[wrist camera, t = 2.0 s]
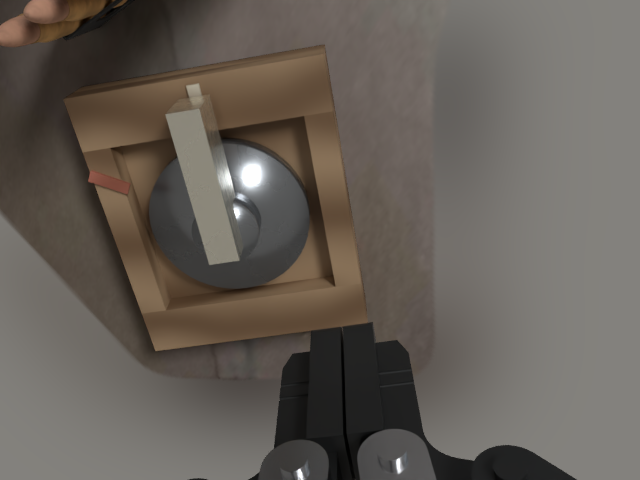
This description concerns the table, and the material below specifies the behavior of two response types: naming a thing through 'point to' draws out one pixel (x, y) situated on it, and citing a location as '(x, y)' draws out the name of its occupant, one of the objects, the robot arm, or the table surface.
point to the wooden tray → (233, 122)
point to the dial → (226, 204)
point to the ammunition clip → (57, 20)
